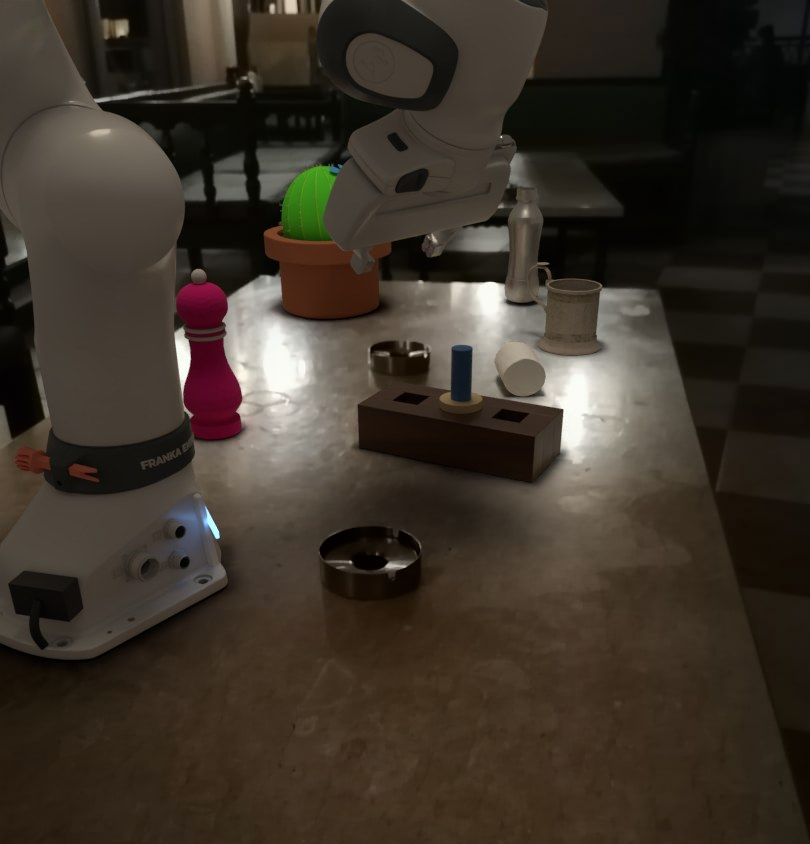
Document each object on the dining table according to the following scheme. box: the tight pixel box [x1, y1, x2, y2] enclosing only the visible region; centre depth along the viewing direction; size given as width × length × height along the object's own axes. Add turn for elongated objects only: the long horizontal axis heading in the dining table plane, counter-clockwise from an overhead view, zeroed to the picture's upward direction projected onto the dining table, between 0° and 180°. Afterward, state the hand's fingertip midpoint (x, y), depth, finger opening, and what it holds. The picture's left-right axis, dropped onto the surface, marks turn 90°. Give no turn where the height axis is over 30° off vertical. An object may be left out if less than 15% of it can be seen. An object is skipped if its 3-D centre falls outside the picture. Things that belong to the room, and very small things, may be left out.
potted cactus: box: [263, 161, 392, 320], centre depth 161 cm, size 22×22×25 cm
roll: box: [493, 341, 547, 397], centre depth 128 cm, size 6×12×6 cm, turn 4°
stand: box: [357, 380, 565, 483], centre depth 107 cm, size 9×22×6 cm, turn 62°
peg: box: [439, 344, 482, 414], centre depth 105 cm, size 5×5×11 cm
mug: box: [527, 261, 603, 356], centre depth 143 cm, size 14×10×12 cm
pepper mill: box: [175, 268, 243, 440], centre depth 110 cm, size 7×7×20 cm
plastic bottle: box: [504, 186, 544, 304], centre depth 165 cm, size 6×7×20 cm
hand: (395, 260), depth 94 cm, fingers open, 8 cm apart
